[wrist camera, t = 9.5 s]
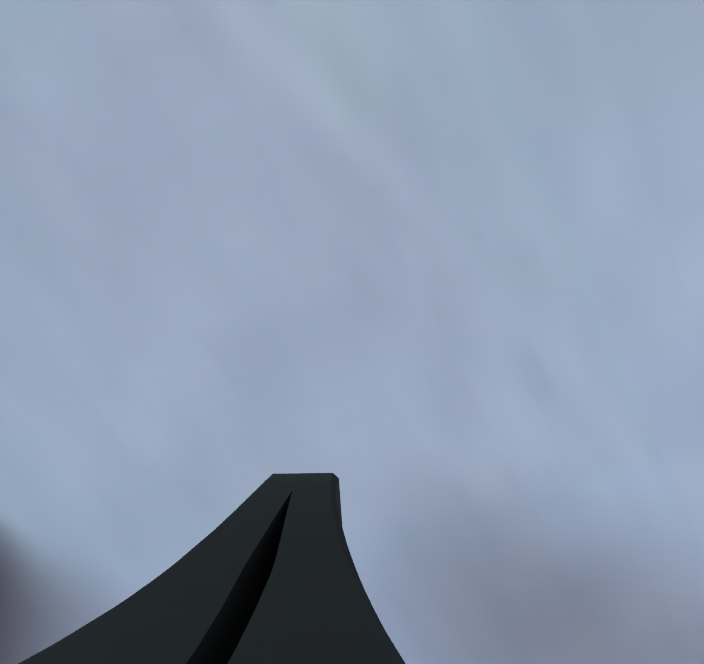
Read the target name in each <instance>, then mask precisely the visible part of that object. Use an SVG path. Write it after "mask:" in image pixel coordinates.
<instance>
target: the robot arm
mask: <svg viewBox="0 0 704 664" xmlns="http://www.w3.org/2000/svg"><path fill="white" fill-rule="evenodd" d="M19 664H405V662H404V661H403V659H402V657H401V656H400V654H399V653H398V651H397V649H396V648H395V646H394V644H393V643H392V641H391V640H390V638H389V636H388V635H387V633H386V631H385V629H384V628H383V626H382V624H381V622H380V620H379V618H378V616H377V614H376V612H375V611H374V609H373V607H372V605H371V602H370V600H369V598H368V596H367V594H366V592H365V590H364V588H363V585H362V583H361V581H360V578H359V576H358V573H357V571H356V568H355V566H354V563H353V560H352V558H351V555H350V552H349V549H348V546H347V543H346V540H345V536H344V532H343V529H342V517H341V503H340V490H339V478H338V477H337V476H336V475H334V474H333V473H301V474H272V475H271V476H270V477H269V478H268V479H267V480H266V481H265V482H264V483H263V484H262V485H261V486H260V487H259V488H258V489H257V490H256V491H255V492H254V493H253V494H252V495H251V496H250V497H249V498H247V499H246V500H245V501H244V502H243V503H242V504H241V505H240V506H239V507H238V508H237V509H236V510H235V511H234V512H233V513H232V514H231V515H230V516H229V517H228V518H227V519H226V520H225V521H224V522H222V523H221V524H220V525H219V526H218V527H217V528H216V529H215V530H214V531H213V532H212V533H210V534H209V535H208V536H207V537H206V538H205V539H203V540H202V541H201V542H200V543H199V544H197V545H196V546H195V547H194V548H193V549H192V550H190V551H189V552H188V553H187V554H186V555H185V556H183V557H182V558H181V559H180V560H179V561H177V562H176V563H175V564H174V565H172V566H171V567H170V568H169V569H167V570H166V571H165V572H164V573H162V574H161V575H160V576H158V577H157V578H156V579H154V580H153V581H152V582H150V583H149V584H147V585H146V586H144V587H143V588H142V589H140V590H139V591H137V592H136V593H135V594H133V595H132V596H130V597H129V598H127V599H126V600H125V601H123V602H122V603H120V604H119V605H117V606H116V607H114V608H113V609H111V610H109V611H108V612H106V613H104V614H103V615H101V616H99V617H98V618H96V619H95V620H93V621H91V622H90V623H88V624H86V625H85V626H83V627H82V628H80V629H78V630H77V631H75V632H73V633H72V634H70V635H69V636H67V637H65V638H64V639H62V640H60V641H59V642H57V643H55V644H53V645H52V646H50V647H48V648H46V649H44V650H43V651H41V652H39V653H37V654H35V655H33V656H32V657H30V658H28V659H26V660H24V661H22V662H21V663H19Z"/></svg>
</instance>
